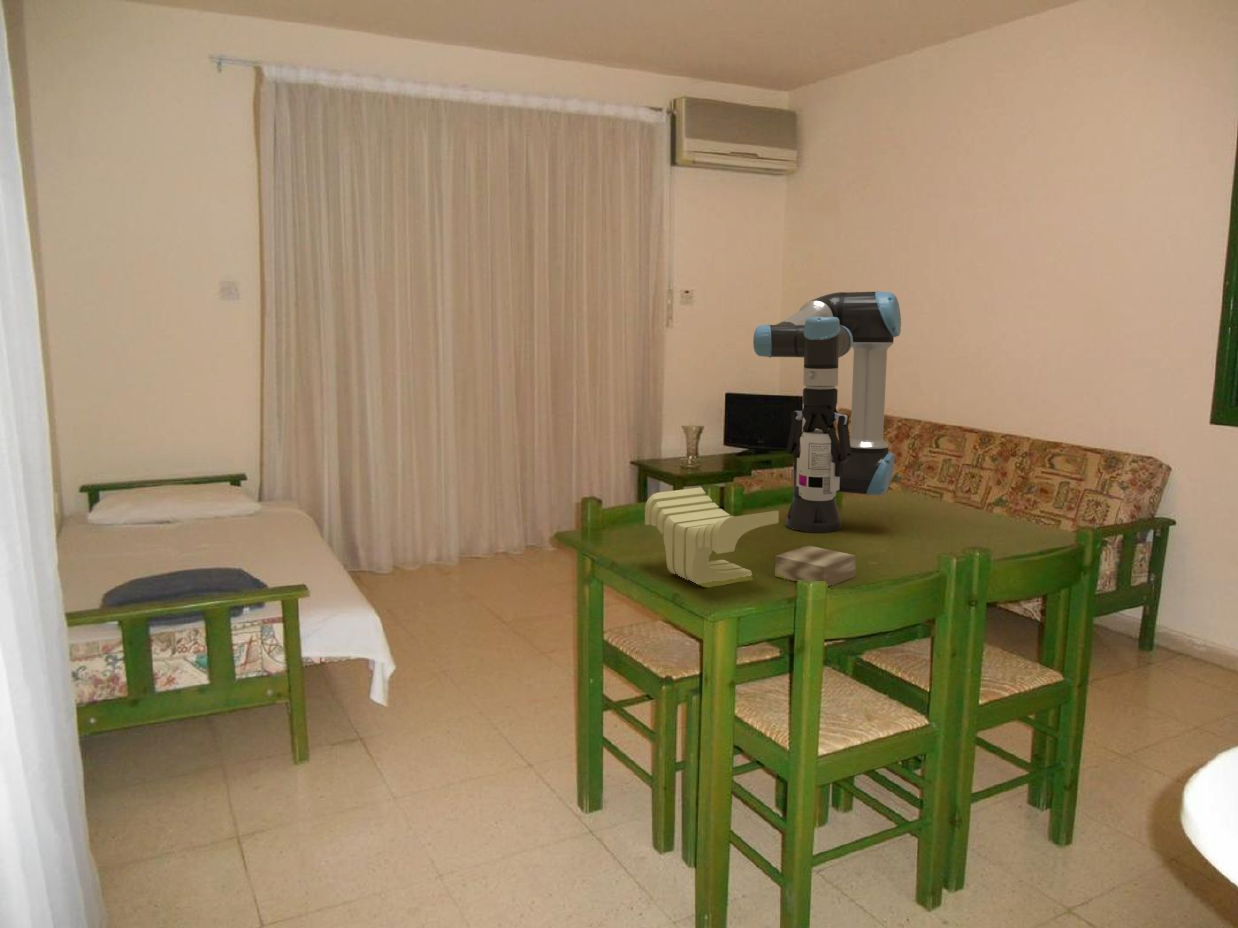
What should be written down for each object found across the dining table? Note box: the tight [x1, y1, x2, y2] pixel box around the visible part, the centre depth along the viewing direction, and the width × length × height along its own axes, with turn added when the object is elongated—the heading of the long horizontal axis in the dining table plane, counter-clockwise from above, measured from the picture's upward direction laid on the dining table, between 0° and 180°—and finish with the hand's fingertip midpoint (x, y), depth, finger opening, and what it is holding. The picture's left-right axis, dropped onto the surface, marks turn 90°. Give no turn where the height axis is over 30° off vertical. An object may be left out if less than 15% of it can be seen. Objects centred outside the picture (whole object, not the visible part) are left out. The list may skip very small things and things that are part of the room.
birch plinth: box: [774, 545, 857, 586], centre depth 210 cm, size 13×13×5 cm
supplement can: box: [799, 429, 837, 501], centre depth 206 cm, size 8×8×15 cm
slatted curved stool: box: [644, 486, 780, 585], centre depth 209 cm, size 30×16×18 cm, turn 29°
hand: (817, 487), depth 207 cm, fingers closed on supplement can, 8 cm apart
